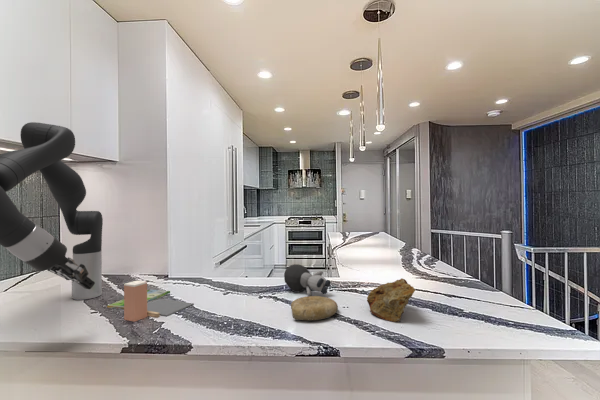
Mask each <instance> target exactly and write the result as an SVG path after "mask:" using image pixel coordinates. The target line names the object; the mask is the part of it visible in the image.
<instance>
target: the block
mask: <svg viewBox="0 0 600 400" xmlns="http://www.w3.org/2000/svg"><path fill="white" fill-rule="evenodd" d="M147 290H148V281H144V280H134V281H130V282H126V283H124V284H123V299H124V309H123V312H124V313H123V314H124V315H123V317H124V321H130V322H138V321H139V320H142V319H145V318H148V316H147Z"/></svg>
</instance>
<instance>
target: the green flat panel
mask: <svg viewBox="0 0 600 400" xmlns="http://www.w3.org/2000/svg"><path fill="white" fill-rule="evenodd" d="M170 293H171V290H161V289H160V290H159V289H147V303H149V302H152V301H155V300H157V299H160V298H162V297H163V296H166V295H168V294H170ZM106 307H107V308H109V309H118V308H121V309H122V310H124V298H123V299H121V300H118V301H115V302H113V303H110V304H108V305H106ZM121 309H120V310H121Z"/></svg>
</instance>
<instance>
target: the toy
mask: <svg viewBox="0 0 600 400" xmlns="http://www.w3.org/2000/svg"><path fill="white" fill-rule="evenodd" d="M323 274H324V272H323V271H322V270H318V271H317V272H315V273H314V274H312V273H311V272H310V270H309V269H308V268H307V267H305V266H304V265H301V264H292V265H289V266H288V267H287V268H286V269H285V270H284V275H283V277H284V283H285V284H286V285H287V287H289V289H291V290H292V291H293V292H297V293H301V292H302V291H304V290H306V293H307V295H308V296H313V293H312V290H313V291H316V292H319V293H321V294H322V295H326V294H328V288H330V286H331V280H329V279H326V278H325V277H324V276H323ZM311 289H312V290H311Z"/></svg>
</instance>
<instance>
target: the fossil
mask: <svg viewBox="0 0 600 400" xmlns="http://www.w3.org/2000/svg"><path fill="white" fill-rule="evenodd" d="M290 309H291V315H292V318H293V319H294V320H297V321H320V320H324V319H327V318H330V317H333V316H334V315H335V314H336V313H337V312H338V309H339V306H338V303H337V302H336V301H335V300H334V299H332V298H329V297H326V296H319V295H311V296H309V295H308V296H302V297H298V298H296V299H294V300H293V301H292V302H291V304H290Z"/></svg>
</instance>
